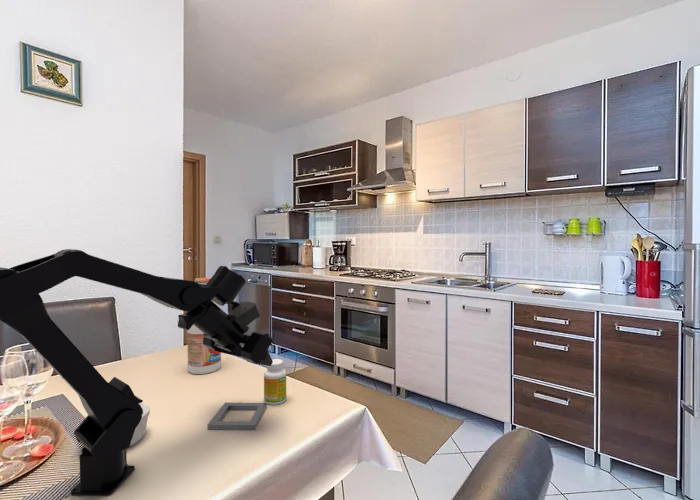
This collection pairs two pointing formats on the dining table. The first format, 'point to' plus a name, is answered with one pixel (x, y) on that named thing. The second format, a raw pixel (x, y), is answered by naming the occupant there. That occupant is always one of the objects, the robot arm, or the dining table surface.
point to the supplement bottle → (275, 383)
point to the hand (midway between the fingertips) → (258, 359)
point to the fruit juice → (201, 348)
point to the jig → (237, 425)
